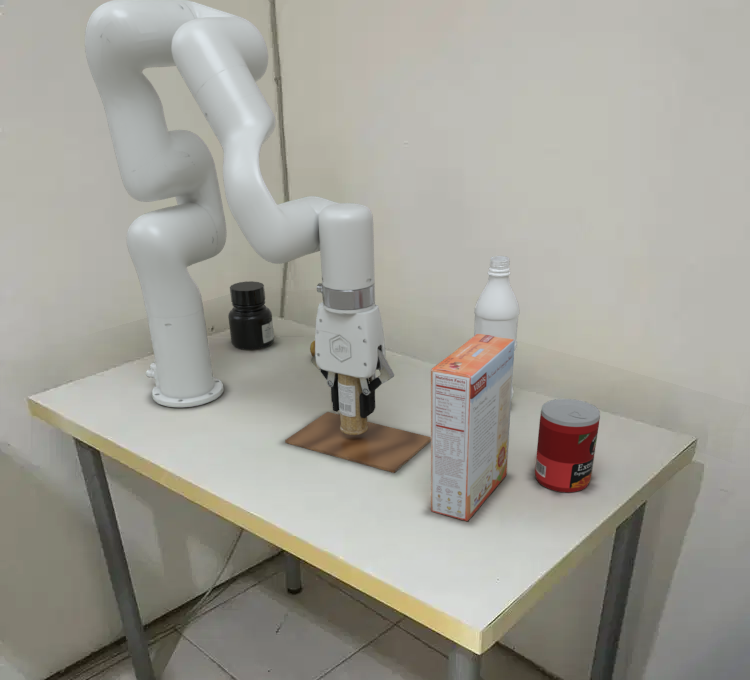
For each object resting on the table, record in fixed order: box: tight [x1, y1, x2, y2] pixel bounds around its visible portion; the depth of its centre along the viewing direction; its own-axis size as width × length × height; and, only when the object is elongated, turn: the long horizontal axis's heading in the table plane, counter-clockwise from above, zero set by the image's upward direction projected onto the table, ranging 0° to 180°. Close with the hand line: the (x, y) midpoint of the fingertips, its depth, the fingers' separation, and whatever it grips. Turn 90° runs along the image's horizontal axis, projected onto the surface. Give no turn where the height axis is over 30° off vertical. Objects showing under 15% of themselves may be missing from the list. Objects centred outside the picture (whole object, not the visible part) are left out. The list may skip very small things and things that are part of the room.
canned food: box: [534, 398, 601, 493], centre depth 108 cm, size 8×8×11 cm
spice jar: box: [338, 374, 368, 435], centre depth 119 cm, size 5×5×13 cm
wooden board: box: [284, 411, 431, 474], centre depth 122 cm, size 20×12×1 cm, turn 59°
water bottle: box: [473, 255, 520, 401], centre depth 126 cm, size 7×7×25 cm
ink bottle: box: [227, 280, 275, 351], centre depth 158 cm, size 10×9×12 cm
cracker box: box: [430, 334, 515, 522], centre depth 102 cm, size 14×6×21 cm, turn 150°
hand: (353, 410), depth 120 cm, fingers closed on spice jar, 4 cm apart
